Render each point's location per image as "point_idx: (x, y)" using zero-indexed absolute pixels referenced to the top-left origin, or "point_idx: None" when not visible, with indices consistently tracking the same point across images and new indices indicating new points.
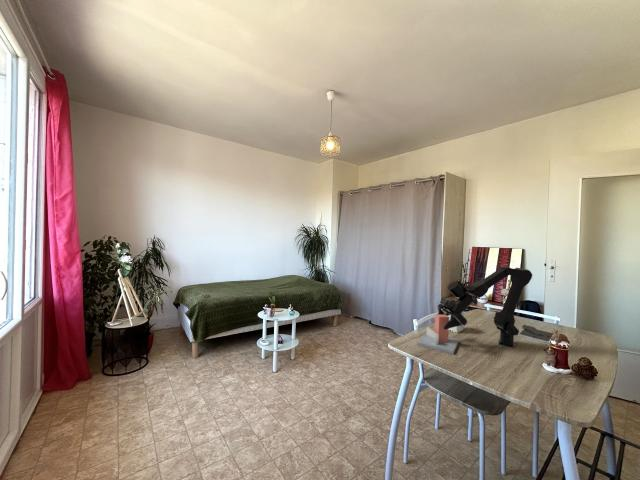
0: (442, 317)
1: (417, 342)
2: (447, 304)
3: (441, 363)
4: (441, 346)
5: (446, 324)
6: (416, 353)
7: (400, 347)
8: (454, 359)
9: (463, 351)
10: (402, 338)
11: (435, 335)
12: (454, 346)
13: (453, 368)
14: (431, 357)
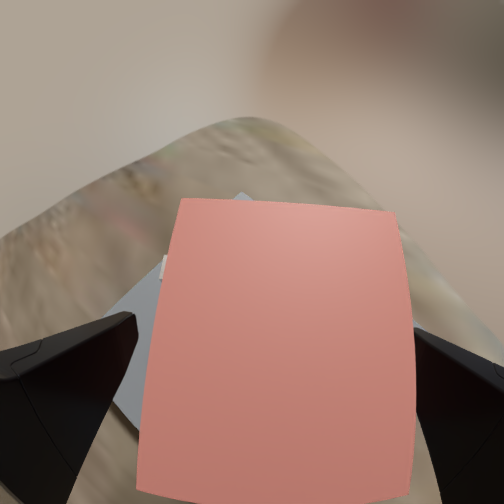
0: (166, 289)
1: (240, 193)
2: None
3: (45, 227)
4: (149, 316)
5: (88, 332)
6: (150, 167)
7: (225, 130)
8: (45, 313)
9: (115, 457)
10: (343, 173)
11: None
12: (136, 418)
13: (8, 252)
14: (95, 212)
